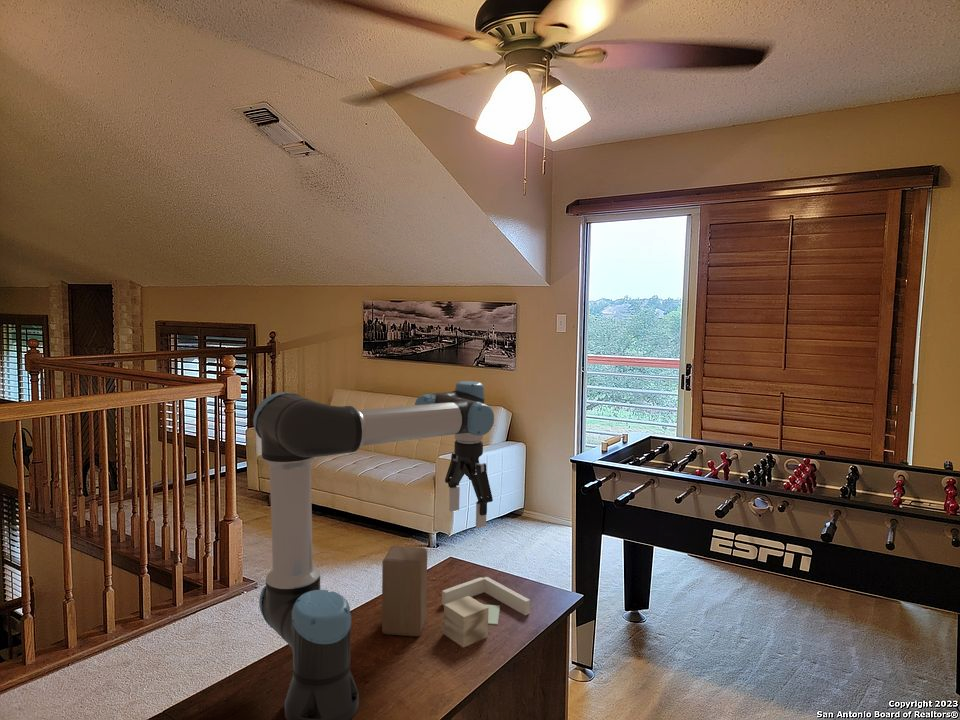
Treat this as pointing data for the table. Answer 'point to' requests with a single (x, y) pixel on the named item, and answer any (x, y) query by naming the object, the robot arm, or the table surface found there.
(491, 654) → the table surface
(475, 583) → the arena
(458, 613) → the birch cube
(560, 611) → the table surface
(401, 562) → the wooden block
